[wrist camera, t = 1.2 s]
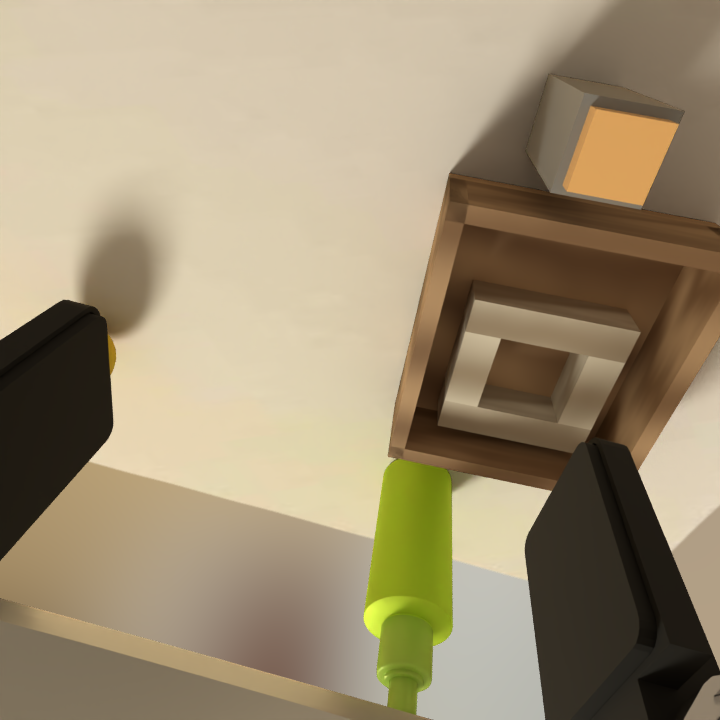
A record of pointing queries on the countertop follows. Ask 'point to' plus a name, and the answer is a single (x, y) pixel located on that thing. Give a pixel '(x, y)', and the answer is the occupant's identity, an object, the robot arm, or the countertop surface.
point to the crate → (551, 330)
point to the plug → (600, 140)
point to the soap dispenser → (410, 578)
